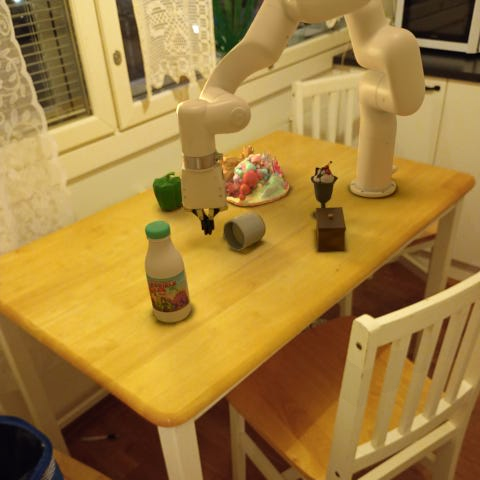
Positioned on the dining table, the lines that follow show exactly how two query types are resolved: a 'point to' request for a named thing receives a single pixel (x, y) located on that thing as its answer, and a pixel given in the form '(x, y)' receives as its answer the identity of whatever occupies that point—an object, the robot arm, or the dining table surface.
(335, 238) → the tea box
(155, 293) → the milk bottle
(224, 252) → the dining table surface
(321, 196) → the sundae
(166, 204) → the bell pepper
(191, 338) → the dining table surface
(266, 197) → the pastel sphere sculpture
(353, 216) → the dining table surface
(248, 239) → the ceramic mug
